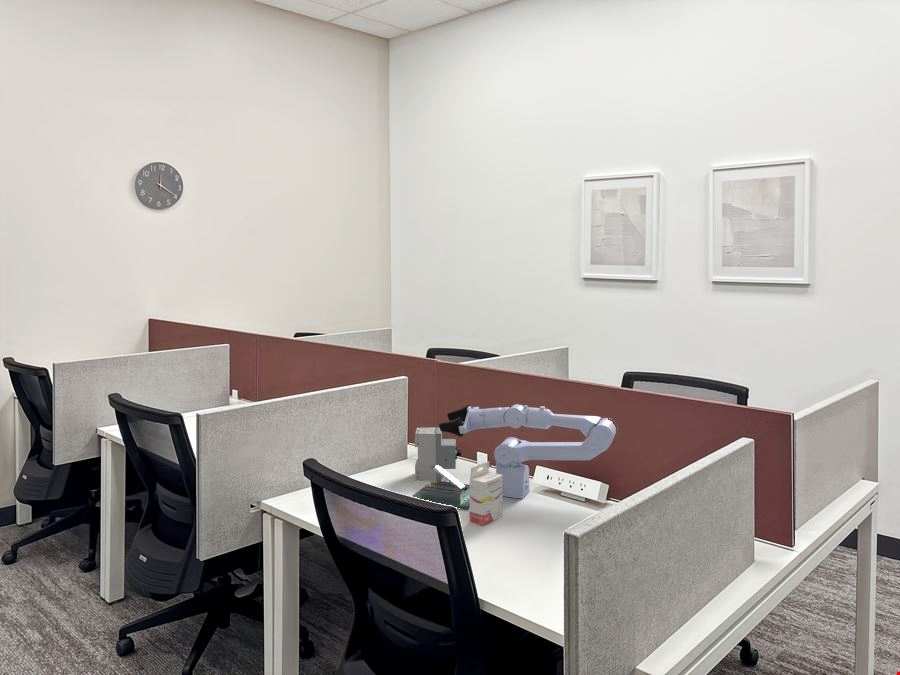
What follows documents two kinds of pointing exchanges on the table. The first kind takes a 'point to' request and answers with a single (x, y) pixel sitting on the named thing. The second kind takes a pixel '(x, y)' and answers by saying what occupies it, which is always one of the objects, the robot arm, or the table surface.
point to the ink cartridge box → (485, 495)
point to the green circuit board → (445, 494)
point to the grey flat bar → (449, 477)
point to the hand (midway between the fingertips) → (444, 422)
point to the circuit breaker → (433, 453)
